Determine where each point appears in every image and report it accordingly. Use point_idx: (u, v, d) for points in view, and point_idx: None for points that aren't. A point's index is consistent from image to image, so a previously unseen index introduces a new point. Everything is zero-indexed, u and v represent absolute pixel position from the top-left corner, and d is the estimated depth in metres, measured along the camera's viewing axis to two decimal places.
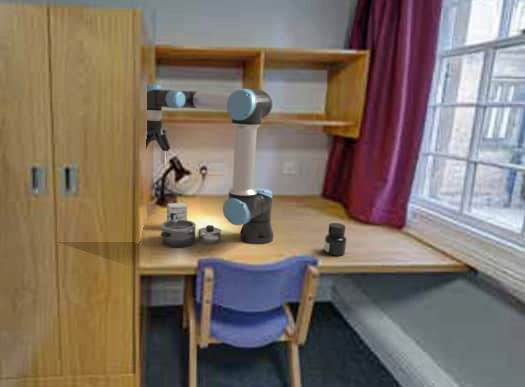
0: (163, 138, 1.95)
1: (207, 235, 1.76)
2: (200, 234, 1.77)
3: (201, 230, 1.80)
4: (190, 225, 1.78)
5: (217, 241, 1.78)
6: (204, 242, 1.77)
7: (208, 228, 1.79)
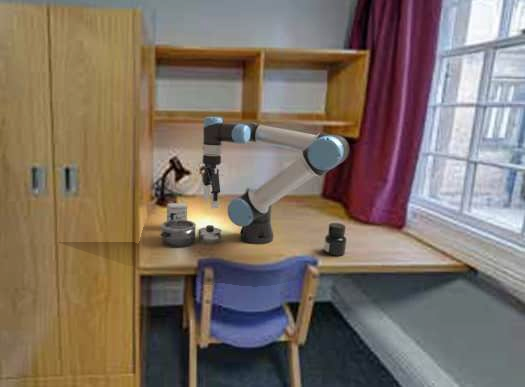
0: None
1: (207, 235, 1.76)
2: (200, 234, 1.77)
3: (201, 230, 1.80)
4: (190, 225, 1.78)
5: (217, 241, 1.78)
6: (204, 242, 1.77)
7: (208, 228, 1.79)
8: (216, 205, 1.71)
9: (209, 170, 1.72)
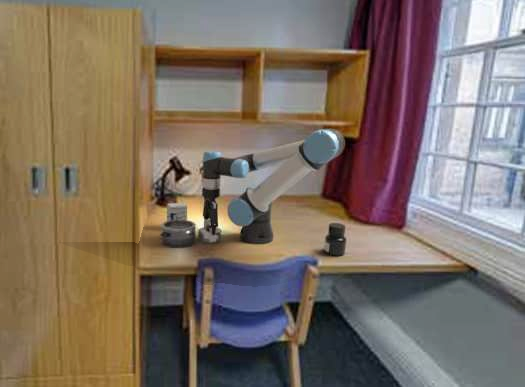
0: None
1: (207, 235, 1.76)
2: (200, 234, 1.77)
3: (201, 230, 1.80)
4: (190, 225, 1.78)
5: (217, 241, 1.78)
6: (204, 242, 1.77)
7: (208, 228, 1.79)
8: (214, 239, 1.76)
9: (208, 203, 1.75)
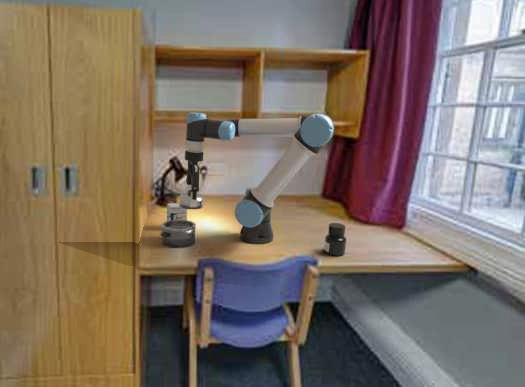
0: None
1: (187, 199, 1.70)
2: (181, 198, 1.72)
3: (182, 195, 1.74)
4: (190, 225, 1.78)
5: (198, 206, 1.73)
6: (184, 206, 1.72)
7: (190, 192, 1.73)
8: (195, 204, 1.71)
9: (190, 167, 1.70)
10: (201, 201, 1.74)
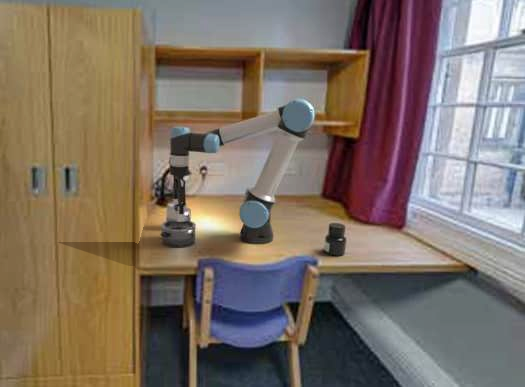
0: None
1: (175, 214, 1.69)
2: (168, 213, 1.71)
3: (169, 210, 1.73)
4: (190, 225, 1.78)
5: (186, 220, 1.72)
6: (172, 221, 1.70)
7: (176, 207, 1.72)
8: (182, 218, 1.70)
9: (176, 181, 1.69)
10: (188, 215, 1.73)
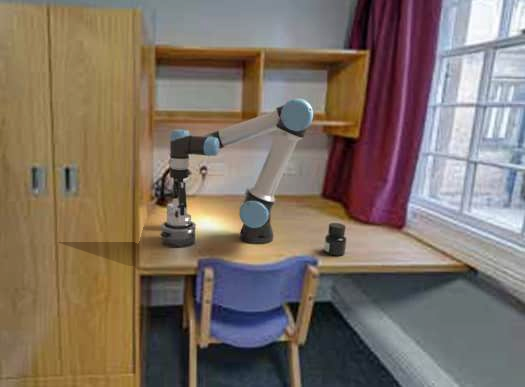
0: None
1: (175, 220, 1.70)
2: (168, 219, 1.71)
3: (169, 216, 1.74)
4: None
5: (186, 227, 1.72)
6: (172, 227, 1.71)
7: (177, 213, 1.73)
8: (183, 219, 1.68)
9: (176, 184, 1.69)
10: (189, 221, 1.73)
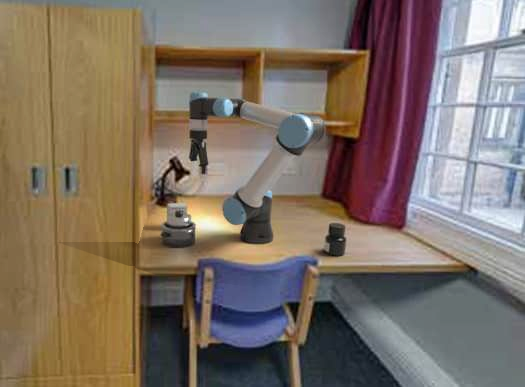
0: None
1: (175, 220, 1.70)
2: (168, 219, 1.71)
3: (169, 216, 1.74)
4: None
5: (186, 227, 1.72)
6: (172, 227, 1.71)
7: (177, 213, 1.73)
8: (204, 178, 1.76)
9: (196, 144, 1.77)
10: (189, 221, 1.73)
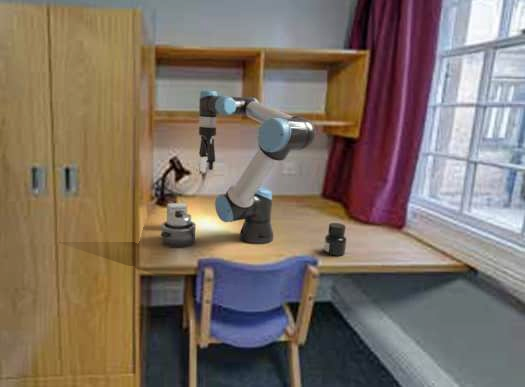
0: None
1: (175, 220, 1.70)
2: (168, 219, 1.71)
3: (169, 216, 1.74)
4: None
5: (186, 227, 1.72)
6: (172, 227, 1.71)
7: (177, 213, 1.73)
8: (211, 174, 1.82)
9: (205, 141, 1.83)
10: (189, 221, 1.73)
